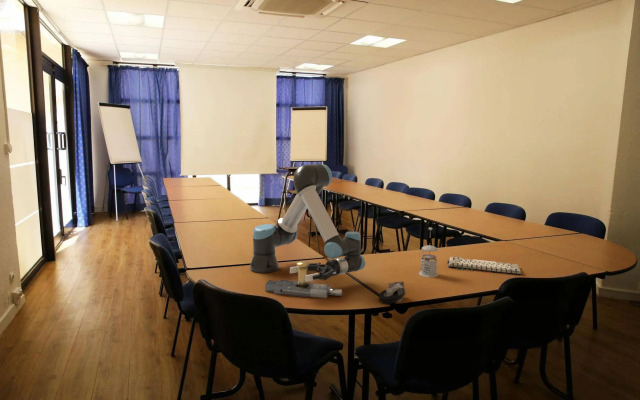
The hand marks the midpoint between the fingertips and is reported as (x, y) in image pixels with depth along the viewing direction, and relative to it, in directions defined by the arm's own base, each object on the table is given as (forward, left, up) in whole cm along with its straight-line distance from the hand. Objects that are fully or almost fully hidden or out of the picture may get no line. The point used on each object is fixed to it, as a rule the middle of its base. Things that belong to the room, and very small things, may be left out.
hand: (297, 274), depth 184 cm
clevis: (+2, +2, -9) cm, 9 cm away
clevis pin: (+2, +2, -9) cm, 9 cm away
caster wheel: (+42, +3, -9) cm, 43 cm away
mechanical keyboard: (+87, +66, -10) cm, 109 cm away
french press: (+57, +46, -9) cm, 74 cm away
